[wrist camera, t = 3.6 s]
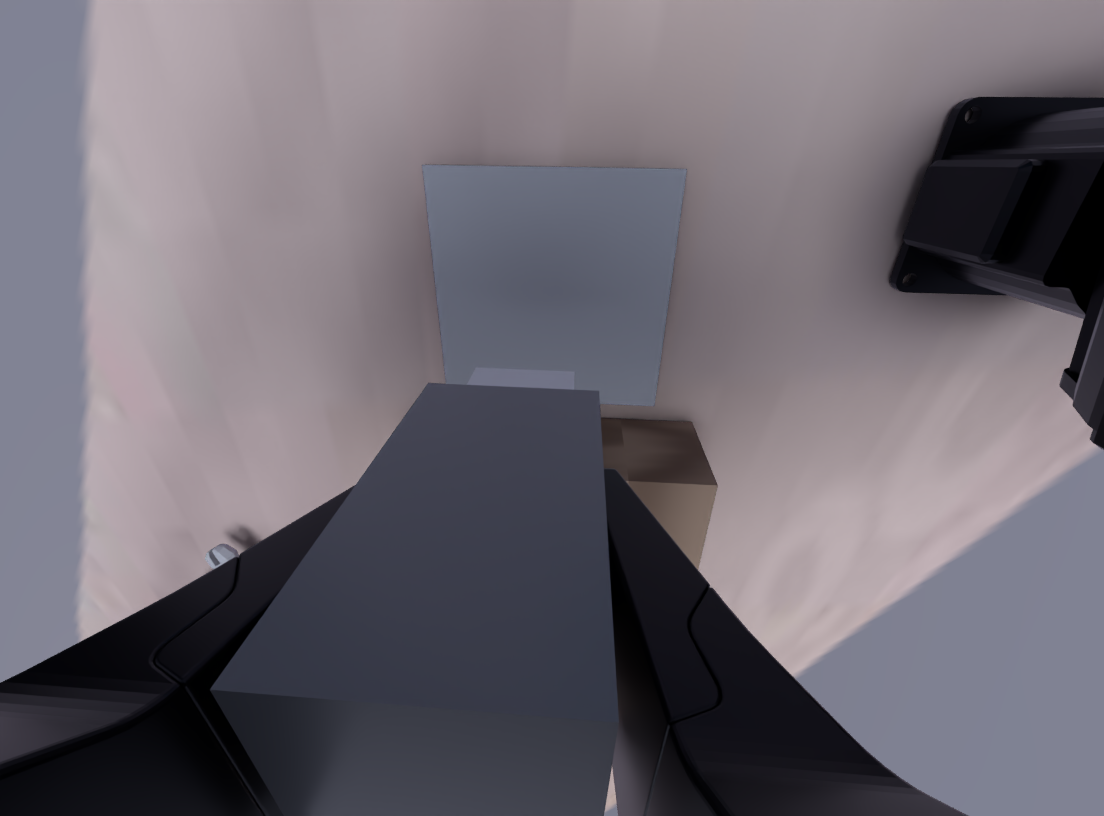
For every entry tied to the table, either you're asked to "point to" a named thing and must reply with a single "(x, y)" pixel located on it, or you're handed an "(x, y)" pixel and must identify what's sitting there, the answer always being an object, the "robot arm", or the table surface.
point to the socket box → (665, 475)
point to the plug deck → (555, 271)
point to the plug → (447, 621)
